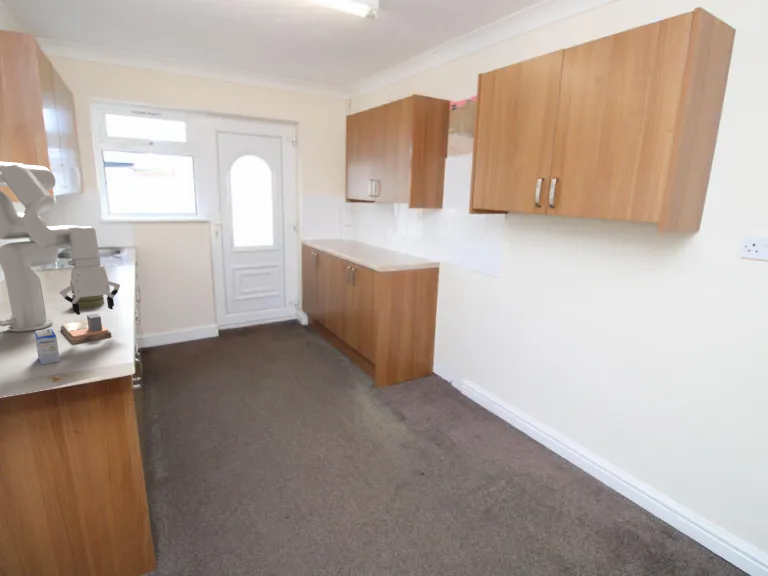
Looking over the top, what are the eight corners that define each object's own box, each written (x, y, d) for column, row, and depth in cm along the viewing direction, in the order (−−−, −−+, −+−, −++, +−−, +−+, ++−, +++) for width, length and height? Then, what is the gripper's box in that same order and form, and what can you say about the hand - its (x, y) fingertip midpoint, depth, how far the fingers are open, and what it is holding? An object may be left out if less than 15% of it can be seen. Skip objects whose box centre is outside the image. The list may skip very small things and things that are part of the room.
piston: (69, 278, 185) (99, 275, 192) (73, 304, 187) (103, 300, 194) (70, 282, 176) (102, 279, 183) (74, 309, 179) (105, 305, 185)
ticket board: (73, 344, 138) (72, 337, 138) (61, 330, 152) (60, 324, 151) (111, 336, 146) (110, 330, 146) (96, 324, 159) (95, 318, 159)
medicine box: (38, 357, 126) (33, 330, 125) (56, 354, 129) (52, 327, 128) (41, 365, 121) (36, 337, 119) (60, 361, 124) (56, 334, 122)
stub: (73, 338, 139) (71, 322, 138) (69, 333, 144) (66, 317, 142) (108, 332, 146) (106, 316, 145) (102, 327, 151) (100, 312, 150)
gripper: (57, 267, 132) (66, 318, 136) (119, 261, 145) (125, 308, 148) (53, 264, 137) (61, 314, 141) (113, 259, 150) (119, 305, 153)
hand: (94, 311), depth 144 cm, fingers open, 9 cm apart
